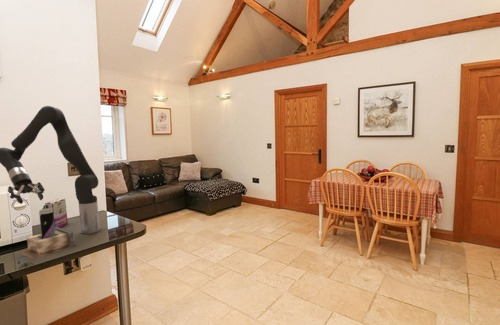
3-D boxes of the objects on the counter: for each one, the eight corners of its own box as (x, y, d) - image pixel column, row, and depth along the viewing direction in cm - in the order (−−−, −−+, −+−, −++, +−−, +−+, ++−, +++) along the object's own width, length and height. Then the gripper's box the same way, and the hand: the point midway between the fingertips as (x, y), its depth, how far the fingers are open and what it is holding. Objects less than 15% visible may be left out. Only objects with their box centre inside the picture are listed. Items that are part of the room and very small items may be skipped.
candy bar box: (60, 223, 173) (58, 198, 171) (68, 223, 173) (65, 198, 171) (47, 230, 162) (44, 203, 160) (55, 229, 162) (52, 202, 160)
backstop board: (33, 261, 121) (31, 244, 120) (17, 253, 129) (15, 237, 129) (74, 247, 135) (72, 232, 134) (57, 241, 144) (55, 226, 143)
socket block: (39, 254, 125) (38, 242, 124) (28, 249, 131) (26, 237, 130) (68, 245, 135) (66, 233, 134) (56, 241, 141) (55, 229, 141)
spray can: (45, 248, 130) (41, 207, 128) (40, 245, 133) (36, 205, 131) (58, 244, 134) (54, 204, 132) (53, 242, 137) (49, 203, 135)
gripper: (4, 174, 137) (16, 199, 132) (37, 171, 149) (49, 193, 144) (1, 184, 140) (13, 208, 135) (34, 180, 152) (46, 202, 148)
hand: (32, 200), depth 140 cm, fingers open, 8 cm apart
